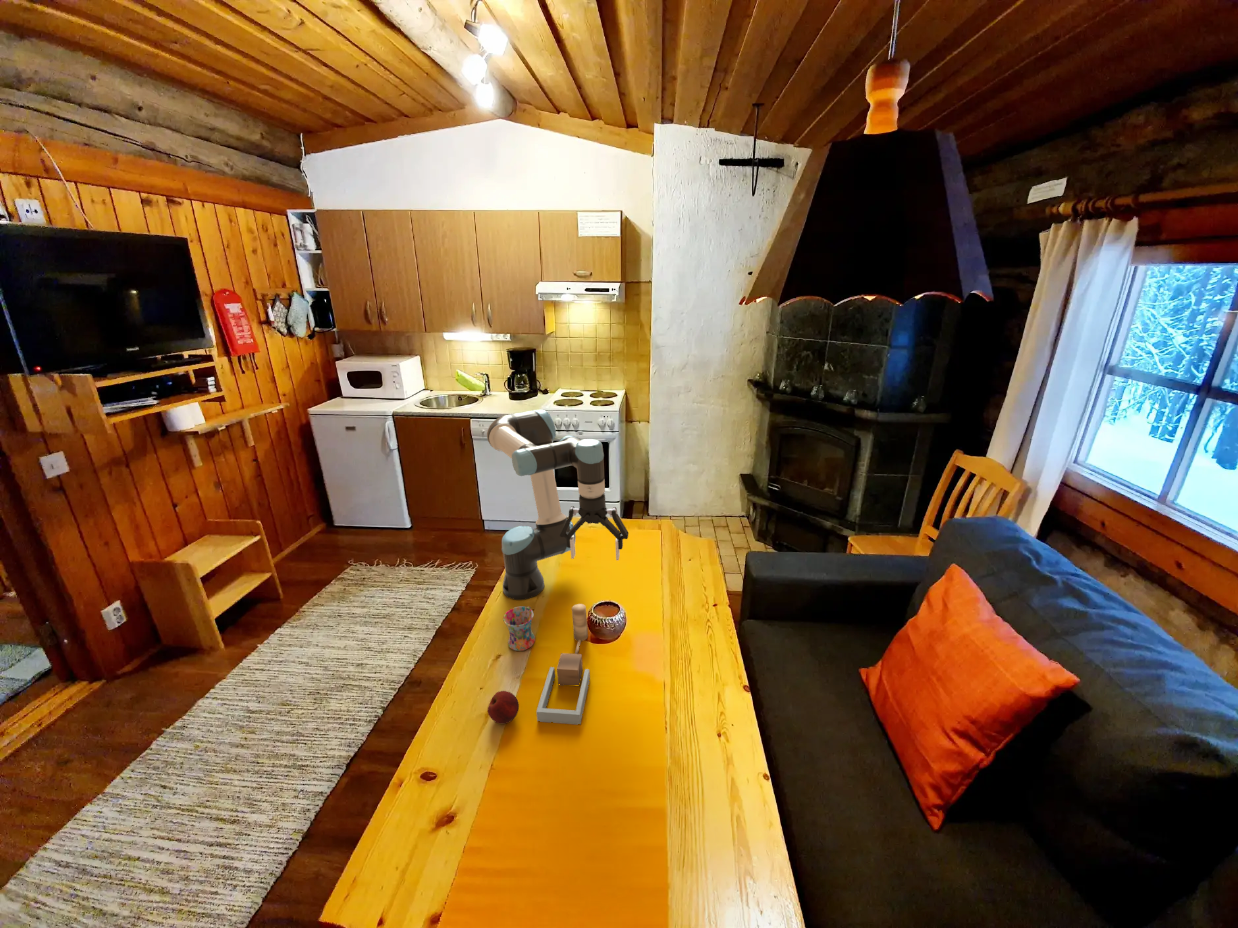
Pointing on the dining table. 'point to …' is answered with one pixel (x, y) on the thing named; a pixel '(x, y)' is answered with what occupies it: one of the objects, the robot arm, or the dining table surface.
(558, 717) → the grey u-shaped frame
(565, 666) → the tethered block
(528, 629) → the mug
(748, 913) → the dining table surface
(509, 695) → the apple
